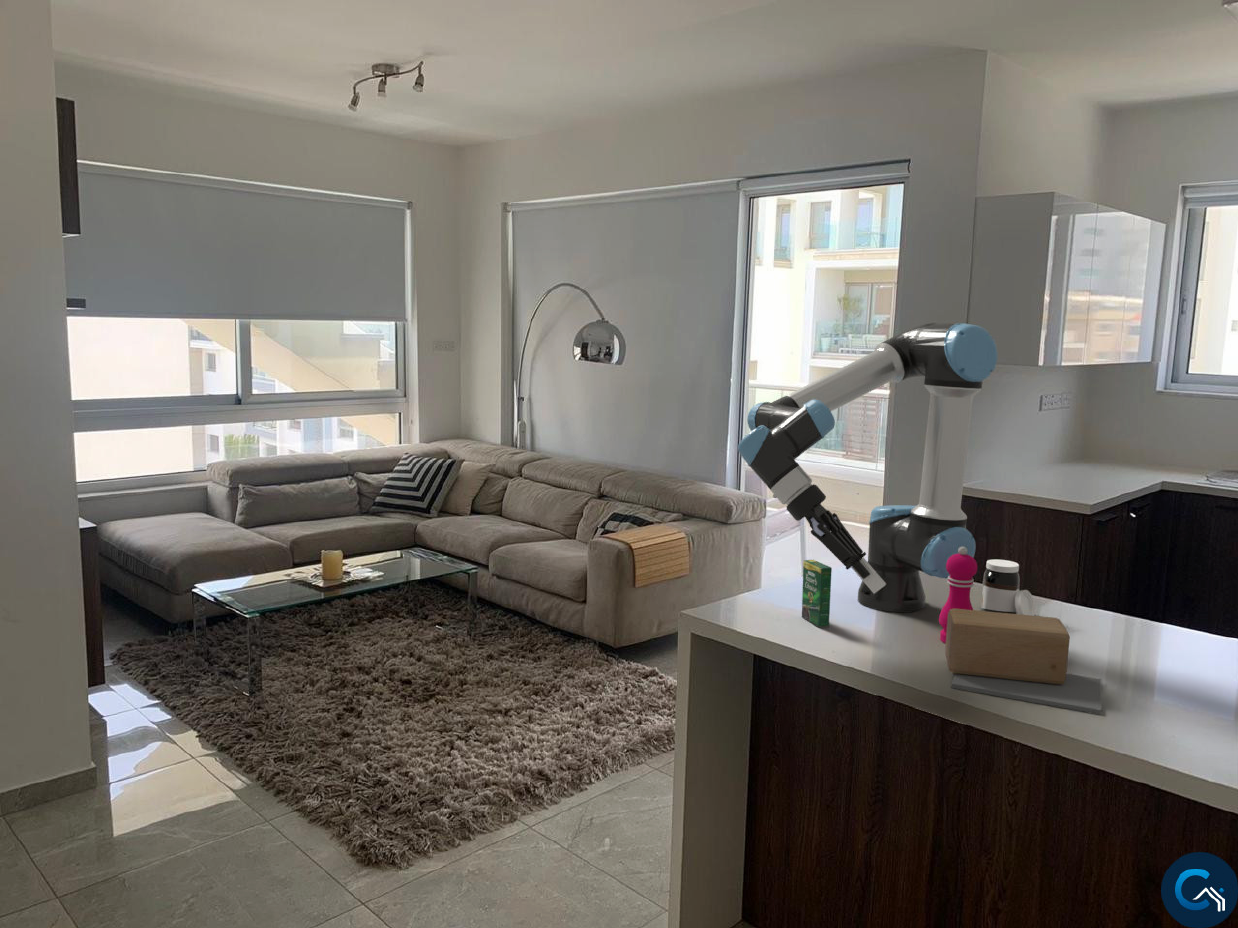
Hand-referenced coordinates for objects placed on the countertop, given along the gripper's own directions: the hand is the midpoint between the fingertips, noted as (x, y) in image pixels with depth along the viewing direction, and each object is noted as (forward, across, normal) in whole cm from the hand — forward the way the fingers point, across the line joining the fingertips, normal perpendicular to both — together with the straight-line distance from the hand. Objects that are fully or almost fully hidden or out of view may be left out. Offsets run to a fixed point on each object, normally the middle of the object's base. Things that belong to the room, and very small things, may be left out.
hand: (880, 588), depth 180 cm
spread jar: (+25, -44, +5) cm, 51 cm away
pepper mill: (+19, -19, -1) cm, 27 cm away
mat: (+29, 0, +9) cm, 30 cm away
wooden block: (+15, -1, +3) cm, 15 cm away
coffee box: (-1, -17, -22) cm, 28 cm away
